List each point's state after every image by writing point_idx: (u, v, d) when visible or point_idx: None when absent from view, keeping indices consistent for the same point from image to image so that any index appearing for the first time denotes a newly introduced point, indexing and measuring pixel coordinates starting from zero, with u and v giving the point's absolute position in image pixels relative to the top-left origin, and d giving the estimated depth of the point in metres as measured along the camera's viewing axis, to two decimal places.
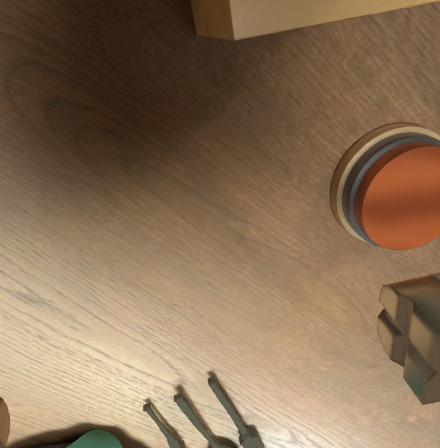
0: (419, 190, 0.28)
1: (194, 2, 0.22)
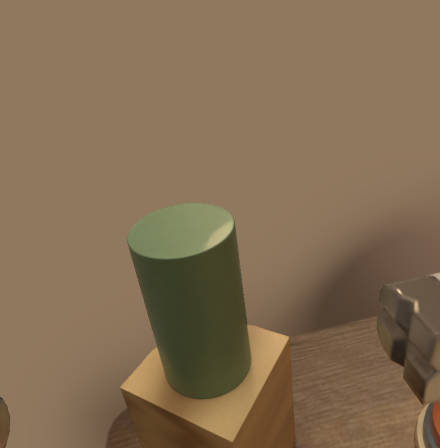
0: None
1: None
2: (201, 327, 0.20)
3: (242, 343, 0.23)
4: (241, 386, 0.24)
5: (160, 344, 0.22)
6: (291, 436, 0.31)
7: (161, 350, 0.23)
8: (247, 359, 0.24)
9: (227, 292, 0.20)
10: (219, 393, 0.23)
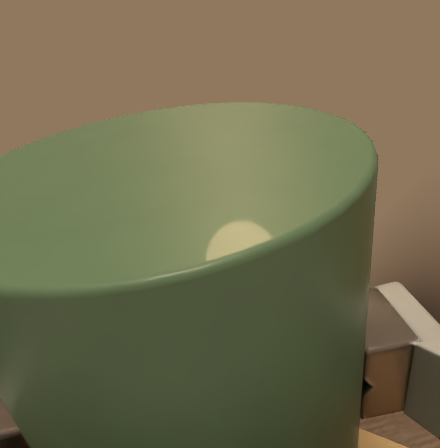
0: None
1: None
2: None
3: None
4: None
5: None
6: None
7: None
8: None
9: (341, 415, 0.05)
10: None
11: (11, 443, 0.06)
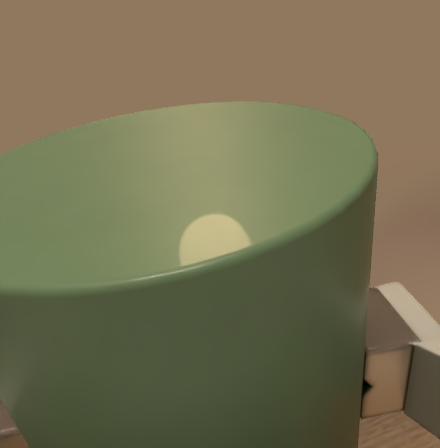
0: None
1: None
2: None
3: None
4: None
5: None
6: None
7: None
8: None
9: (341, 415, 0.05)
10: None
11: (11, 443, 0.06)
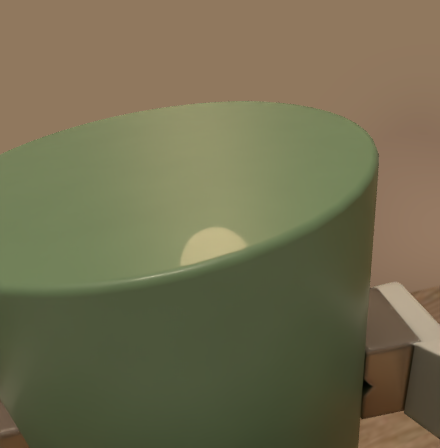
0: None
1: None
2: None
3: None
4: None
5: None
6: None
7: None
8: None
9: (341, 415, 0.05)
10: None
11: (11, 443, 0.06)
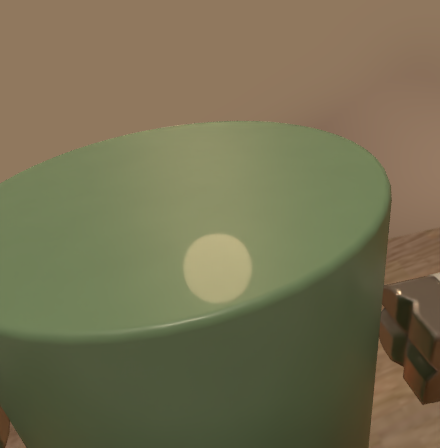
0: None
1: None
2: None
3: None
4: None
5: None
6: None
7: None
8: None
9: (352, 442, 0.05)
10: None
11: None
